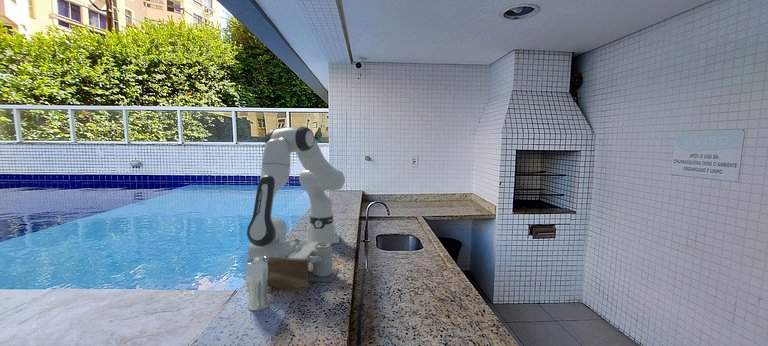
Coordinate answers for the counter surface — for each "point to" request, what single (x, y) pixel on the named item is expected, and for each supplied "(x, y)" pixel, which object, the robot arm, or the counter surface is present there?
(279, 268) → the walnut screen
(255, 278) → the beer glass
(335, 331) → the counter surface
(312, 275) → the slate mat
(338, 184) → the robot arm
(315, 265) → the can
